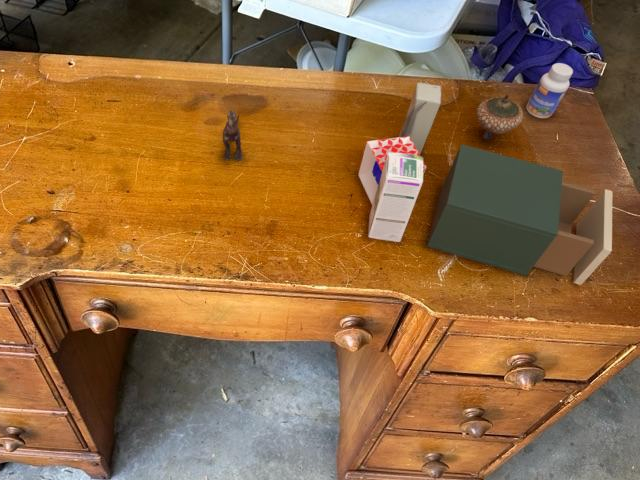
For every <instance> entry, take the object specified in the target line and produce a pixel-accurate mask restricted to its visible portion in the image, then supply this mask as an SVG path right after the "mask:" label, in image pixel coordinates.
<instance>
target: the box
mask: <svg viewBox="0 0 640 480" xmlns="http://www.w3.org/2000/svg"><path fill="white" fill-rule="evenodd" d="M414 89H415V90H414V93H413V96H412V99H411V100H410V104H409V107H408V110H407V113H406V116H405V118H404V122H403V124H402V127H401V130H400V132H399V135H398V137H406V136H410V138H411V140H412V142H413V143H414V145H415V147H416V149H417V151H418V152H419V154H420V155H421V153H422V152H423V149H424V146H425V144H426V141H427V139H428V137H429V134H430V132H431V129H432V126H433V124H434V121H435V119H436V117H437V114H438V111H439V109H440V106H441V103H442V85H437V84H429V83H424V82H417V84H416V85H415V88H414Z"/></svg>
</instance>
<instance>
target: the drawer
mask: <svg viewBox="0 0 640 480" xmlns="http://www.w3.org/2000/svg"><path fill="white" fill-rule="evenodd" d="M595 195H596V190H595V189H591V188H588V187H585V186H584V187H583V186H581V185H580V186H579V185H577V184H573V183H569V182H565V181H562V189H561V201H560V213H559V226H558V235H557V236H556V237H555V238H554V240H553V241H552V242H551V244H550V245H549V246H548V248H547V249H546V250H545V252H544V253H543V254H542V256H541V257H540V258H539V260H538V261H537V262H536V264H535V265H534V266H533V268H536V269H541V270H543V271H547V272H550V273H554V274H558V275H561V276H565V277H567V276H568V275H569V273H570V272H571V271H572V270H573V268H574V270H573V284H576V285H579V286H582V284H583V283H585V282H586V281H587V279H588V278H589V277H590V276H591V275H592V273H594V271H595V270H596V269H597V268H598V267H599V266H600V265H601V264H602V263H603V262H604V260H605V259H607V258H608V256H609V255H610V254H612V252H613V190H610V189H606V188H604V189H603V191H602V192H601V193H600V195H599V196H598V197H597V198H596V200H595V201H594V202H593V204H591V206H590V207H589V209H588V210H587V211H586V213H585V214H584V215H583V217H581V219H580V220H579V221H578V223H577V224H576V232H575V234H574V233H572V226H573V224H574V222H575V221H576V220H577V218H578V217H579V216H580V215H581V213H582V212H583V211H584V209H585V208H586V207H587V206H588V204H589V203H590V202H591V200H593V198H594V196H595Z"/></svg>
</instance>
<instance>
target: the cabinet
mask: <svg viewBox="0 0 640 480" xmlns="http://www.w3.org/2000/svg"><path fill="white" fill-rule="evenodd" d="M563 175H564V170H562V169H558V168H554V167H550V166H547V165H542V164H538V163H535V162H532V161H531V162H530V161H528V160H527V161H526V160H523V159H520V158H515V157H512V156H508V155H503V154H499V153H496V152H492V151H489V150H485V149H481V148H477V147H473V146H470V145H465V144H460V145H459V148H458V150H457V153H456V154H455V157H454V159H453V161H452V164H451V166H450V168H449V171H448V173H447V175H446V177H445V180H444V181H443V184H442V186H441V188H440V191H439V195H438V199H437V204H436V208H435V211H434V216H433V219H432V224H431V227H430V231H429V236H428V239H427V244H426V247H427V248H431V249H434V250H437V251H440V252H443V253H447V254H451V255H454V256H457V257H461V258H464V259H468V260H472V261H475V262H478V263H481V264H484V265H488V266H492V267H495V268H499V269H502V270H505V271H508V272H512V273H515V274H519V275H522V276H525V277H526V276H528V275H529V273H530V272H531V270H532V269H533V268H534V267H533V266H534V265H535V264H536V262H537V261H538V260H539V258H540V257H541V256H542V254H543V253H544V252H545V250H546V249H547V248H548V246H549V245H550V244H551V242H552V241H553V240H554V238H555V237H556V236H557V235H558V226H559V213H560V201H561V189H562V182H563Z"/></svg>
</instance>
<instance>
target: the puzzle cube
mask: <svg viewBox="0 0 640 480" xmlns="http://www.w3.org/2000/svg"><path fill="white" fill-rule="evenodd" d="M388 152H393V153H405V154H412V155H417V156H421V154H419V152H418V151H417V149H416V147H415V145H414V143H413V142H412V140H411V138H410V136H406V137H399V136H398V137H391V138H384V139H383V138H382V139H376V140H368V141H366V144H365V148H364V151H363V155H362V159H361V162H360V166H359V170H358V174H357V175H358V178H359V179H360V182H361V184H362V186H363V189H364V191H365V193H366V195H367V197H368V200H369V201H370V204H371V205H372V204H373V201H374V198H375V194H376V191H377V188H378V185H379V181H380V178H381V174H382V171H383V168H384V164H385V161H386V158H387V155H388ZM426 169H427V165H426V164H425V161H424V160H423V175H424V174H425V172H426Z"/></svg>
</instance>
